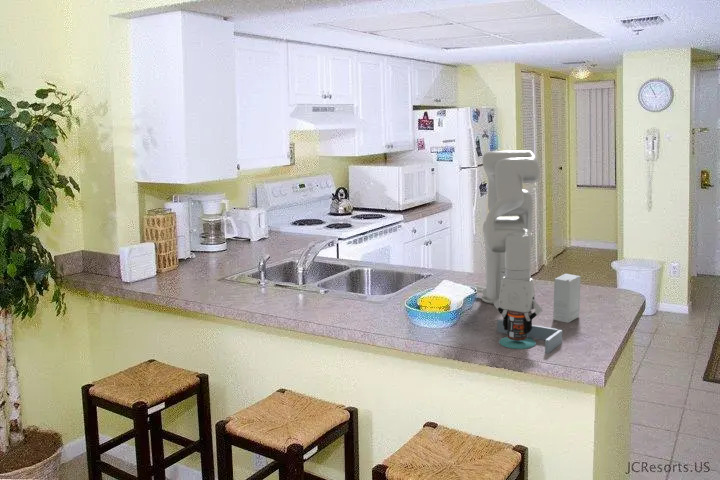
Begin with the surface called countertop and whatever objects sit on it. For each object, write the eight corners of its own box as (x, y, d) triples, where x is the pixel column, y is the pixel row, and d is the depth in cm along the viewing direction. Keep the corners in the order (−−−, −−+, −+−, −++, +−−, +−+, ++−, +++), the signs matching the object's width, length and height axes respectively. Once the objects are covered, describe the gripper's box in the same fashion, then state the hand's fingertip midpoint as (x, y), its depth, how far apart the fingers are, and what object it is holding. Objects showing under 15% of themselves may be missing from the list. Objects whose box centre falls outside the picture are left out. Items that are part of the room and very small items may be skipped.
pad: (493, 344, 211) (493, 344, 211) (508, 335, 220) (508, 334, 220) (526, 351, 205) (526, 350, 205) (541, 340, 213) (541, 339, 213)
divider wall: (482, 341, 215) (482, 328, 214) (498, 331, 224) (498, 319, 223) (548, 353, 202) (548, 340, 202) (562, 342, 211) (562, 329, 211)
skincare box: (564, 314, 239) (564, 272, 237) (580, 317, 235) (581, 275, 232) (552, 320, 233) (553, 277, 231) (569, 323, 229) (570, 280, 226)
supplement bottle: (513, 342, 209) (513, 306, 207) (503, 336, 214) (503, 301, 212) (530, 339, 210) (531, 304, 208) (521, 334, 216) (521, 299, 214)
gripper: (486, 273, 211) (486, 329, 214) (540, 279, 200) (539, 338, 204) (497, 268, 216) (497, 323, 220) (549, 274, 206) (549, 331, 210)
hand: (517, 330), depth 212 cm, fingers closed on supplement bottle, 6 cm apart
